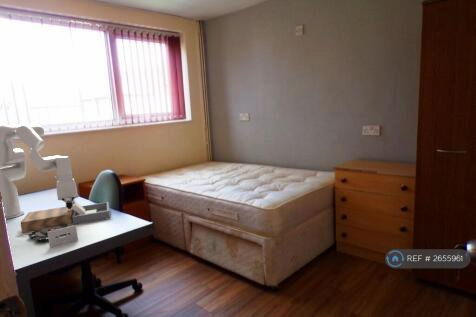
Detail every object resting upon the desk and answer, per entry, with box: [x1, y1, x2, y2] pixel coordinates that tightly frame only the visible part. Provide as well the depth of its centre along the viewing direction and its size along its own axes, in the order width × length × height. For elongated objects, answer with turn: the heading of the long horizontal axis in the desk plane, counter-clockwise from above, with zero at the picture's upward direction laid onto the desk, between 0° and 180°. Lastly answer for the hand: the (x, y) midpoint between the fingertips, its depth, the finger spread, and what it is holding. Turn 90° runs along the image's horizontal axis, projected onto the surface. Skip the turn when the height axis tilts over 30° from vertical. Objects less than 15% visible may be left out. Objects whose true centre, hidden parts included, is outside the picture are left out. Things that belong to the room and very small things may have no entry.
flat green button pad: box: [28, 224, 70, 243], centre depth 166 cm, size 18×18×5 cm
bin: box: [72, 201, 111, 226], centre depth 194 cm, size 19×22×4 cm
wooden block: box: [20, 206, 74, 234], centre depth 186 cm, size 24×20×6 cm
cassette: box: [47, 224, 79, 248], centre depth 153 cm, size 12×2×8 cm, turn 125°
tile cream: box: [72, 201, 85, 215], centre depth 191 cm, size 7×7×2 cm
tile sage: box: [83, 209, 97, 215], centre depth 193 cm, size 7×7×2 cm
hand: (69, 208), depth 189 cm, fingers closed
